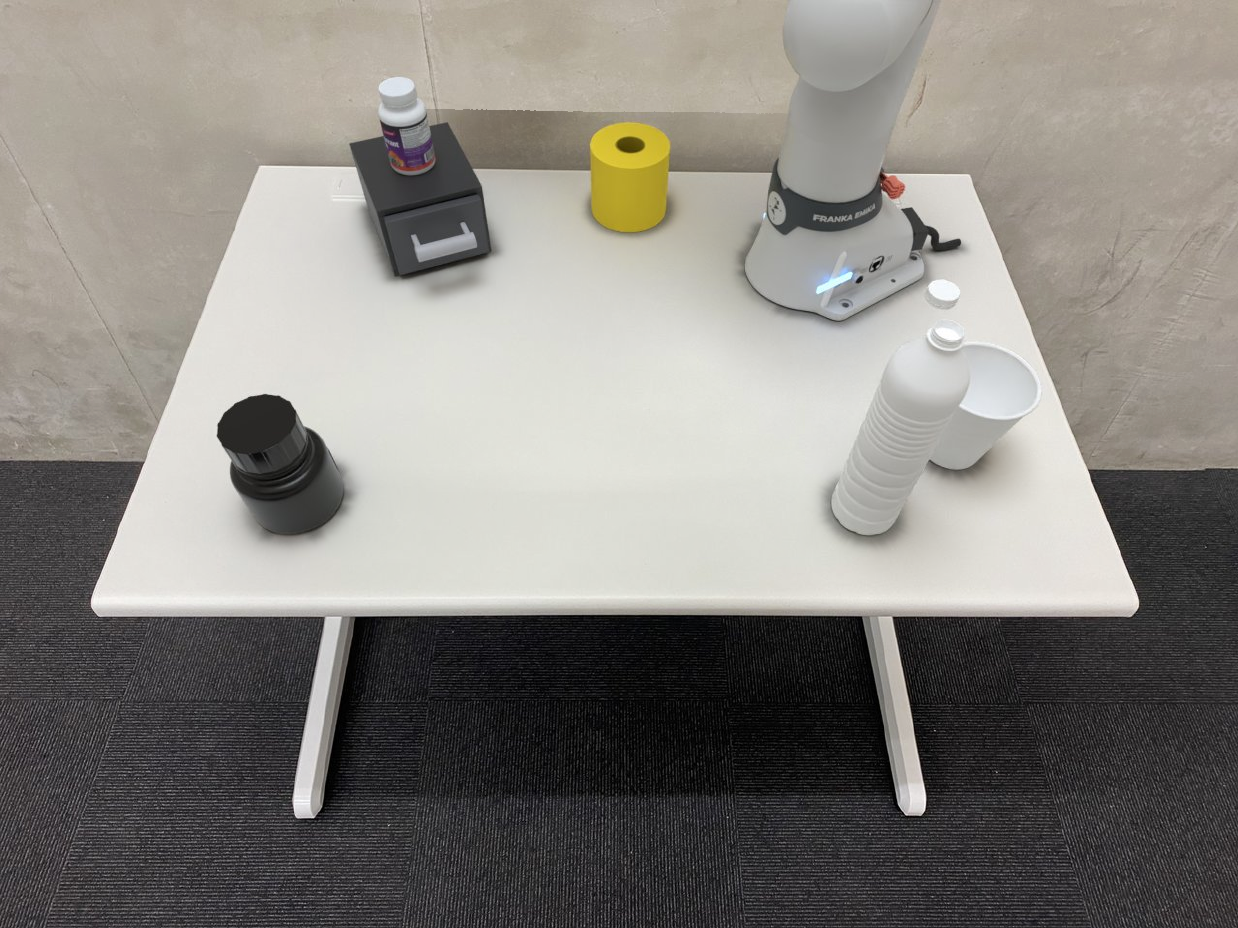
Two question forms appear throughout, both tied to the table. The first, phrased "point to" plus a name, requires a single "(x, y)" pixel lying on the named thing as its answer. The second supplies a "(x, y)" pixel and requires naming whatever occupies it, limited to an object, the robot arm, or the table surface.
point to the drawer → (437, 233)
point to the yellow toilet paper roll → (629, 176)
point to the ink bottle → (279, 465)
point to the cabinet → (413, 181)
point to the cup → (987, 404)
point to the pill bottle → (405, 127)
